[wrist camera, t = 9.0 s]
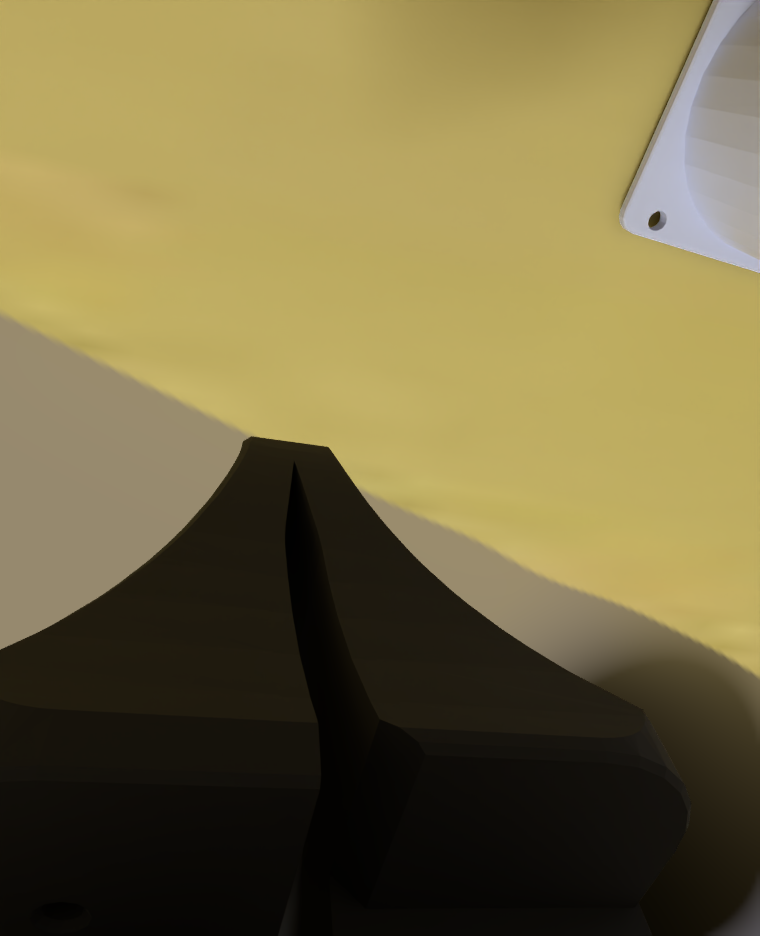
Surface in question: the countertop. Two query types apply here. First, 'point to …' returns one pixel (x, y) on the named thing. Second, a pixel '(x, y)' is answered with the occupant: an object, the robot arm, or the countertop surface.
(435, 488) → the countertop surface
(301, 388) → the countertop surface
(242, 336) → the countertop surface
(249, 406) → the countertop surface
